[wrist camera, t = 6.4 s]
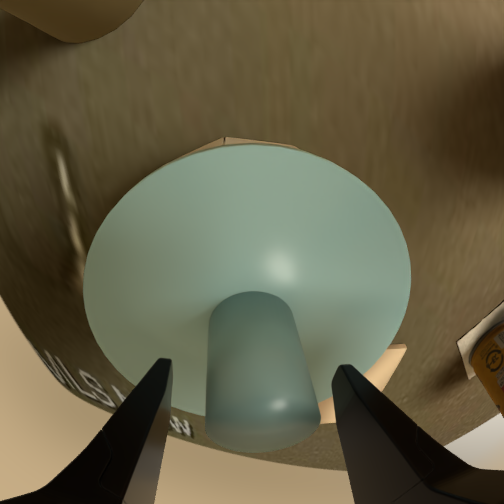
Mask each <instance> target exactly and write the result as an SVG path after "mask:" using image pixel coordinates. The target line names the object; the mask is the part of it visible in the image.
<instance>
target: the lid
mask: <svg viewBox="0 0 504 504" xmlns="http://www.w3.org/2000/svg"><path fill="white" fill-rule="evenodd" d="M410 286H411V267H410V258H409V254H408V249H407V244H406V242H405V239H404V237H403V234H402V231H401V229H400V226H399V225H398V223H397V221H396V220H395V218H394V216H393V215H392V213H391V211H390V210H389V208H388V207H387V206H386V205H385V204H384V202H383V201H382V200H381V199H380V198H379V197H378V195H377V194H376V193H375V192H374V191H373V190H371V189H370V188H369V187H368V186H367V185H366V184H364V183H363V182H362V181H361V180H359V179H358V178H357V177H356V176H354V175H353V174H351V173H350V172H348V171H347V170H345V169H343V168H341V167H340V166H338V165H336V164H334V163H333V162H331V161H329V160H327V159H325V158H323V157H320V156H317V155H315V154H312V153H310V152H307V151H304V150H300V149H296V148H292V147H287V146H282V145H277V144H263V143H240V144H228V145H220V146H216V147H212V148H207V149H203V150H199V151H195V152H193V153H190V154H188V155H185V156H183V157H180V158H178V159H175V160H173V161H171V162H169V163H167V164H165V165H164V166H162V167H160V168H159V169H157V170H155V171H153V172H152V173H150V174H149V175H147V176H146V177H145V178H144V179H142V180H141V181H140V182H139V183H138V184H136V185H135V186H134V187H133V188H132V189H130V190H129V191H128V192H127V193H126V194H125V195H124V197H123V198H122V199H121V200H120V201H119V202H118V203H117V204H116V206H115V207H114V208H113V209H112V210H111V211H110V213H109V214H108V215H107V216H106V218H105V220H104V221H103V223H102V225H101V226H100V228H99V229H98V231H97V233H96V235H95V237H94V239H93V242H92V244H91V247H90V249H89V252H88V255H87V260H86V264H85V269H84V278H83V297H84V305H85V311H86V315H87V319H88V322H89V326H90V328H91V330H92V333H93V335H94V337H95V339H96V341H97V343H98V345H99V346H100V348H101V350H102V351H103V353H104V354H105V356H106V357H107V358H108V360H109V361H110V362H111V363H112V365H113V366H114V367H115V368H116V369H117V370H118V371H119V372H120V373H121V374H122V375H123V376H124V377H125V378H126V379H127V380H128V381H130V382H131V383H132V384H133V385H135V386H136V385H137V384H138V383H139V382H140V380H141V379H142V378H143V377H144V375H145V374H146V373H147V372H148V370H149V369H150V368H151V367H152V366H153V364H154V363H155V362H156V361H157V359H158V358H170V359H172V365H173V386H172V398H171V406H172V407H175V408H178V409H180V410H183V411H186V412H190V413H194V414H198V415H202V416H205V431H206V434H207V435H208V437H209V438H210V439H211V440H212V441H213V442H215V443H216V444H218V445H220V446H222V447H224V448H227V449H230V450H234V451H240V452H249V453H259V452H270V451H276V450H280V449H284V448H287V447H290V446H293V445H295V444H297V443H299V442H301V441H303V440H305V439H306V438H308V437H309V436H310V435H311V434H313V433H314V432H315V431H316V429H317V428H318V426H319V424H320V422H321V414H320V410H319V406H318V403H320V402H322V401H324V400H326V399H328V398H330V397H332V396H333V395H332V388H331V382H332V379H333V377H334V374H335V372H336V370H337V368H338V366H339V365H341V364H351V365H353V366H354V367H355V368H356V369H357V370H358V371H359V372H360V373H361V374H362V375H363V374H364V373H366V372H367V371H368V370H369V369H370V368H371V367H372V366H373V365H374V364H375V363H376V362H377V360H378V359H379V358H380V357H381V356H382V355H383V353H384V352H385V350H386V349H387V348H388V346H389V345H390V343H391V342H392V340H393V338H394V337H395V335H396V333H397V331H398V329H399V327H400V325H401V322H402V320H403V317H404V315H405V312H406V308H407V304H408V300H409V295H410Z"/></svg>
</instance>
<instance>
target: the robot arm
mask: <svg viewBox="0 0 504 504" xmlns="http://www.w3.org/2000/svg"><path fill="white" fill-rule="evenodd" d="M172 386H173V365H172V359H170V358H158V359H157V361H156V362H155V363H154V364H153V366H152V367H151V368H150V369H149V370H148V372H147V373H146V374H145V375H144V377H143V378H142V379H141V380H140V382H139V383H138V384H137V385H136V387H135V388H134V389H133V390H132V392H131V393H130V394H129V395H128V397H127V398H126V399H125V400H124V401H123V403H122V404H121V405H120V406H119V408H118V409H117V410H116V411H115V413H114V414H113V415H112V416H111V418H110V419H109V420H108V421H107V423H106V424H105V425H104V426H103V428H102V430H103V431H102V430H100V431H99V432H98V434H97V435H96V436H95V438H94V439H93V440H92V441H91V442H90V443H89V445H88V446H87V447H86V448H85V449H84V450H83V451H82V452H81V453H80V454H79V455H78V456H77V457H76V458H75V459H74V460H73V461H72V462H71V463H70V464H69V465H68V466H67V467H66V468H64V469H63V470H62V471H61V472H60V473H59V474H58V475H57V476H56V477H55V478H54V479H53V480H51V481H50V482H49V483H48V484H47V485H45V486H44V487H42V488H40V489H38V490H37V491H34V492H31V493H27V494H24V495H21V496H17V497H14V498H10V499H6V500H2V501H0V504H154V500H155V495H156V490H157V484H158V479H159V474H160V468H161V463H162V458H163V452H164V448H165V443H166V437H167V433H168V428H169V422H170V411H171V398H172ZM331 388H332V395H333V403H334V411H335V419H336V425H337V430H338V434H339V438H340V442H341V446H342V450H343V454H344V459H345V463H346V467H347V471H348V475H349V480H350V485H351V489H352V493H353V498H354V502H355V504H504V471H503V470H485V469H479V468H475V467H472V466H471V465H468V464H467V463H466V462H464V461H463V460H461V459H460V458H458V457H457V456H456V455H454V454H453V453H451V452H450V451H449V450H447V449H446V448H445V447H443V446H442V445H441V444H439V443H438V442H437V441H435V440H434V439H433V438H432V437H431V436H430V435H428V434H427V433H426V432H425V431H424V430H423V429H422V428H420V427H419V426H417V424H416V423H415V422H414V421H413V420H412V419H410V418H409V417H408V416H407V415H406V414H405V413H404V412H403V411H402V410H401V409H399V408H398V407H397V406H396V405H395V404H394V403H393V402H392V401H391V400H390V399H389V398H387V397H386V396H385V395H384V394H383V393H382V392H381V391H380V390H379V389H378V388H377V387H375V386H374V385H373V384H372V383H371V382H370V381H369V380H368V379H367V378H366V377H365V376H363V375H362V374H361V373H360V372H359V371H358V370H357V369H356V368H355V367H354V366H353V365H351V364H341V365H339V366H338V368H337V370H336V372H335V374H334V377H333V379H332V382H331Z"/></svg>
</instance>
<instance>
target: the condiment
mask: <svg viewBox="0 0 504 504" xmlns="http://www.w3.org/2000/svg"><path fill="white" fill-rule="evenodd" d="M478 336H479V337H478ZM477 337H478V338H477ZM476 340H477V341H476ZM457 344H458V346H459V350H460V352H461V356H462V358H463V362H464V366H465V369H466V372H467V376H468V379H469V380H470V379H471V378H472V377H474V376H475V375H477V376H478V378H479V380H480V381H481V382H482V384H483V386H484V387H485V389H486V390H487V392H488V394H489V395H490V397H491V398H492V400H493V401H494V403H495V405H496V406H497V408H498V409H499V411H500V413H501V414H502V416H503V418H504V302H503V303H502V304H501V305H500V306H499V307H497V308H496V309H495V310H494V311H492V312H491V313H490V314H489V315H488V316H487V317H486V318H484V319H482V321H481V322H480V323H479V324H478V325H477V326H476V327H475V328H473V329H472V330H471V331H469V332H468V333H467V334H466V335H465V336H464V337H463V338H462V339H460V340H459V341H458V342H457Z"/></svg>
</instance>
